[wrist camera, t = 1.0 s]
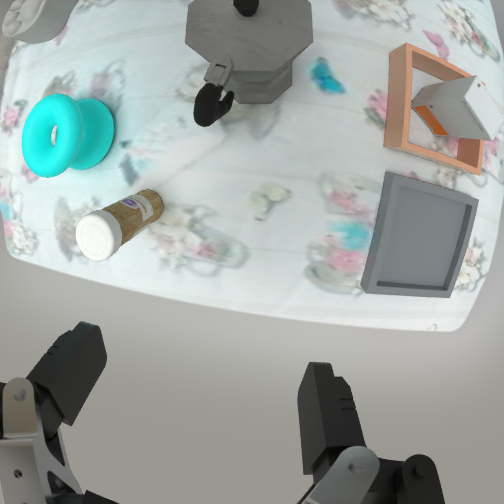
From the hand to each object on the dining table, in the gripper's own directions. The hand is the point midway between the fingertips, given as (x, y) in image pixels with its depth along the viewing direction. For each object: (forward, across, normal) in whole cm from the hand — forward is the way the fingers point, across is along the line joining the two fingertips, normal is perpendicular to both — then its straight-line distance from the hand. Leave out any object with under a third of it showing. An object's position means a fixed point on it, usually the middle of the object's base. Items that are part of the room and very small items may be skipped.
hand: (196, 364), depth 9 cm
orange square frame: (+26, -23, -18) cm, 39 cm away
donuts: (+27, +23, -8) cm, 36 cm away
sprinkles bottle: (+26, +13, +2) cm, 29 cm away
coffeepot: (+27, +1, -16) cm, 31 cm away
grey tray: (+26, -25, 0) cm, 36 cm away
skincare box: (+27, -23, -18) cm, 39 cm away
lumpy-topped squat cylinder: (+27, +39, -32) cm, 57 cm away
